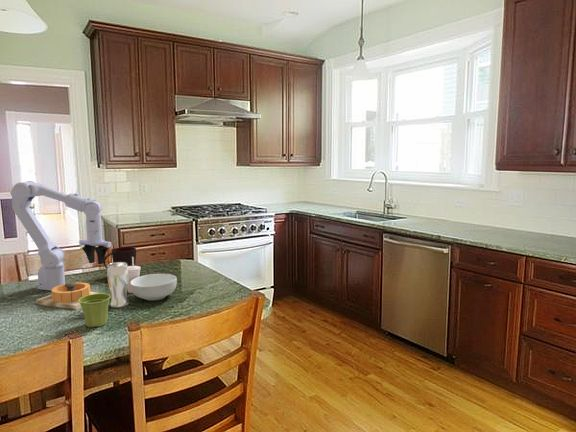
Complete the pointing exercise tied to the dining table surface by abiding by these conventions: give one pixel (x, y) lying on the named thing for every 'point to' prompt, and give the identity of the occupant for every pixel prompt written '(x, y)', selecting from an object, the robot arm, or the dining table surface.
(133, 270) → the smoothie
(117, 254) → the cup
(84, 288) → the faceted orange ring
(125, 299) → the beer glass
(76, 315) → the dining table surface
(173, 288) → the cereal bowl
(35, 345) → the dining table surface
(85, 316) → the plant pot
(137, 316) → the dining table surface
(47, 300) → the peg board
